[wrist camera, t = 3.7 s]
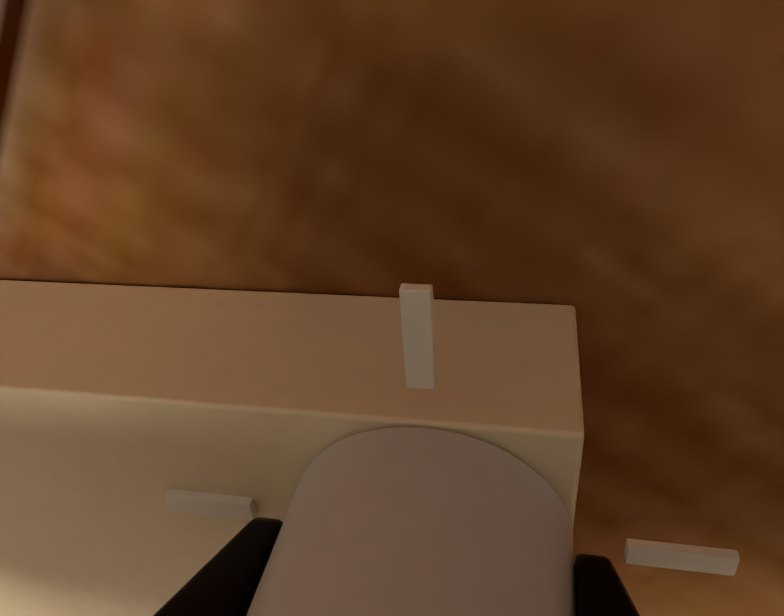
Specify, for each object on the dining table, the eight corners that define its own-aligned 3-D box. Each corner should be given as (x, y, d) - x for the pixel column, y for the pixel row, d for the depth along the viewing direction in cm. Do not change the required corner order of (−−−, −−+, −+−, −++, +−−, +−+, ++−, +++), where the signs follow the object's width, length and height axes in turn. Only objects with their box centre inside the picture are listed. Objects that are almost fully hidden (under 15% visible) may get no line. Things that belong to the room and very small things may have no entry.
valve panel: (747, 181, 9) (828, 308, 6) (638, 638, 15) (657, 797, 13) (-288, 172, 13) (-503, 252, 10) (-39, 546, 19) (-133, 655, 16)
